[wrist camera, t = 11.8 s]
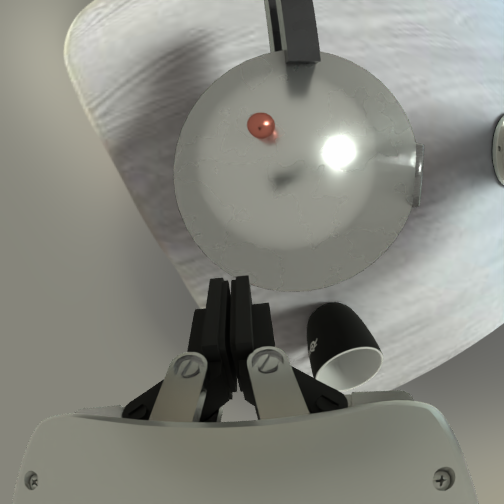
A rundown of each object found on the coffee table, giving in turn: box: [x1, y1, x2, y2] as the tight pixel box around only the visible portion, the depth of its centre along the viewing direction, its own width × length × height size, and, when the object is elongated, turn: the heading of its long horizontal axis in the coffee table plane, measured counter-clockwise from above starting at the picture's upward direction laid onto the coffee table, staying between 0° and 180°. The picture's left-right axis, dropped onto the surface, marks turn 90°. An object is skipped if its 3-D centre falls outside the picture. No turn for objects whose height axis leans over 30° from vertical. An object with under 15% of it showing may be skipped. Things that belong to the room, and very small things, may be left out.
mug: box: [307, 303, 383, 392], centre depth 36 cm, size 12×9×10 cm
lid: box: [173, 0, 424, 292], centre depth 17 cm, size 19×23×2 cm
